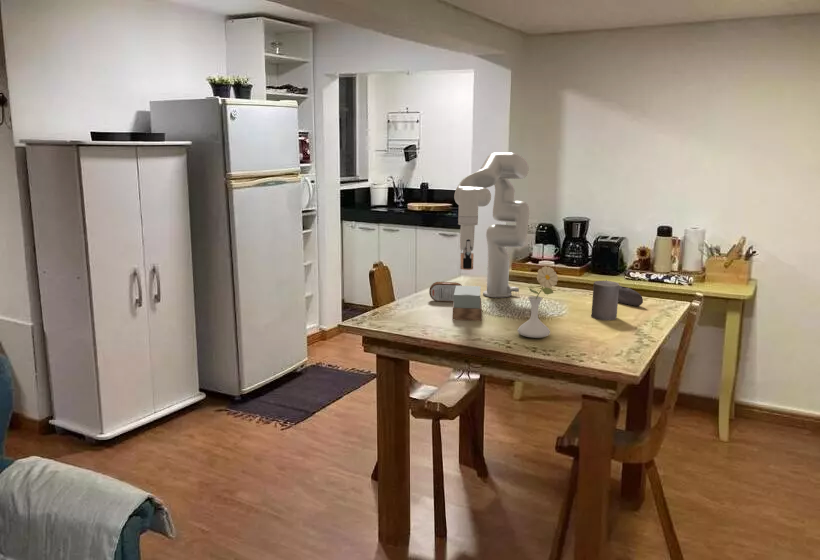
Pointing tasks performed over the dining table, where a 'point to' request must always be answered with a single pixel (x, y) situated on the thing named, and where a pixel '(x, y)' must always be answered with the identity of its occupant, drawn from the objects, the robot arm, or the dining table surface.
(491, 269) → the robot arm
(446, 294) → the tin
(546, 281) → the flower in vase
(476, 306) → the tower top
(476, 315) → the tower base
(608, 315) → the pillar candle
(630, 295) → the perforated stone tool
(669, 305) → the dining table surface
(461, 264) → the column
